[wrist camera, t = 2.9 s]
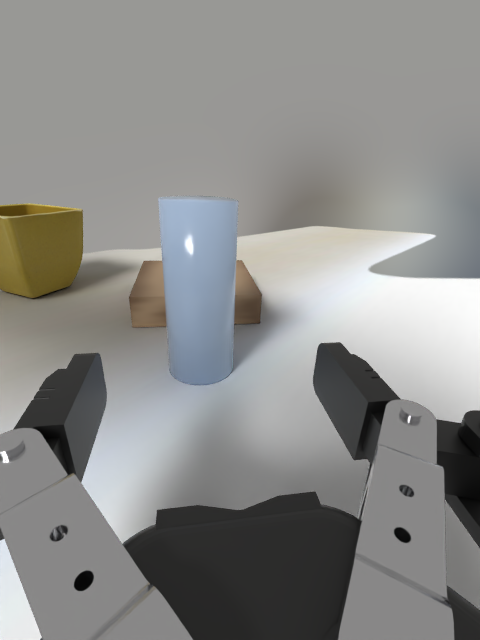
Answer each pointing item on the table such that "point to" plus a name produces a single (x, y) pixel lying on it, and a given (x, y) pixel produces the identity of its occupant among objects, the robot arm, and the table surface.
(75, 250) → the flower pot
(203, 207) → the pale blue tumbler
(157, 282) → the stand
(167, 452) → the table surface
